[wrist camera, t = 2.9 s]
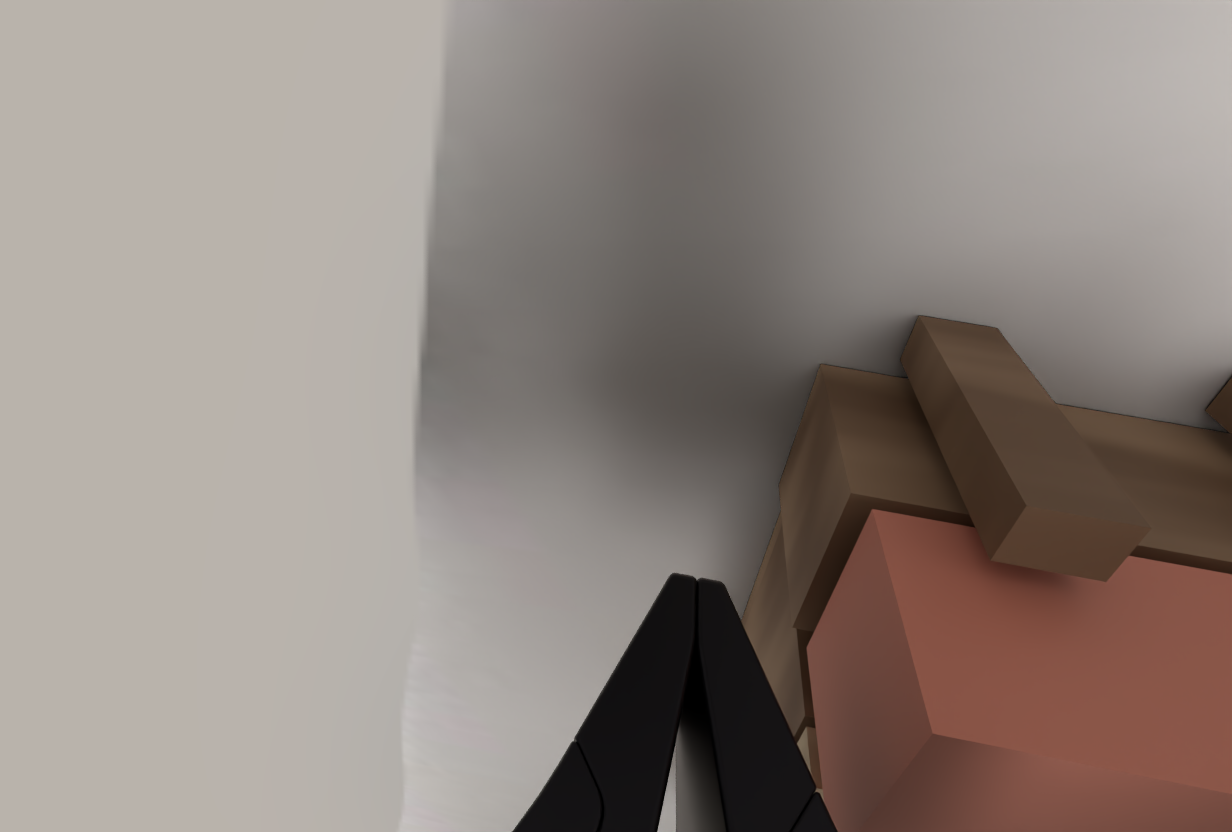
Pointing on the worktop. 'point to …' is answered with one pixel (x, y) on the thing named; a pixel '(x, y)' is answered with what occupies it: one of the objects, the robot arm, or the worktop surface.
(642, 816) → the robot arm
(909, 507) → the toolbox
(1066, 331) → the worktop surface
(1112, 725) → the pink rectangular block
